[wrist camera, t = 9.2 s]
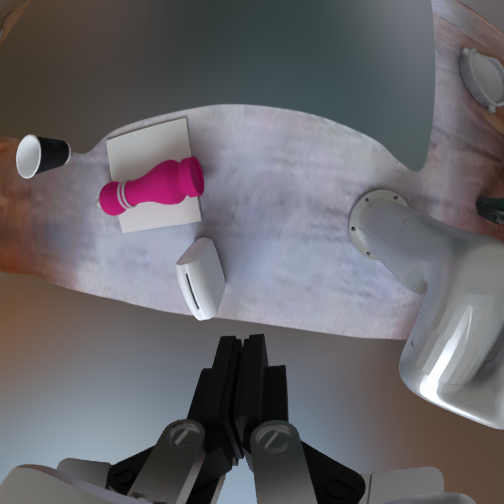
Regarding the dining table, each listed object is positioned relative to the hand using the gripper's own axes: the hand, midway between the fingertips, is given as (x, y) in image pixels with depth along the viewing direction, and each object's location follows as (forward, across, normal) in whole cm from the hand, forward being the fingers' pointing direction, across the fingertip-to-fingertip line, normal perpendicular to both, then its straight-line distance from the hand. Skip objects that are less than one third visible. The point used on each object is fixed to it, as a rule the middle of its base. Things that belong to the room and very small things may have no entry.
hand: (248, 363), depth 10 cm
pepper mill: (+33, +9, -7) cm, 35 cm away
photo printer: (+37, +11, +9) cm, 40 cm away
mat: (+37, +19, -8) cm, 42 cm away
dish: (+38, -50, -25) cm, 67 cm away
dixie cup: (+37, +39, -18) cm, 57 cm away
